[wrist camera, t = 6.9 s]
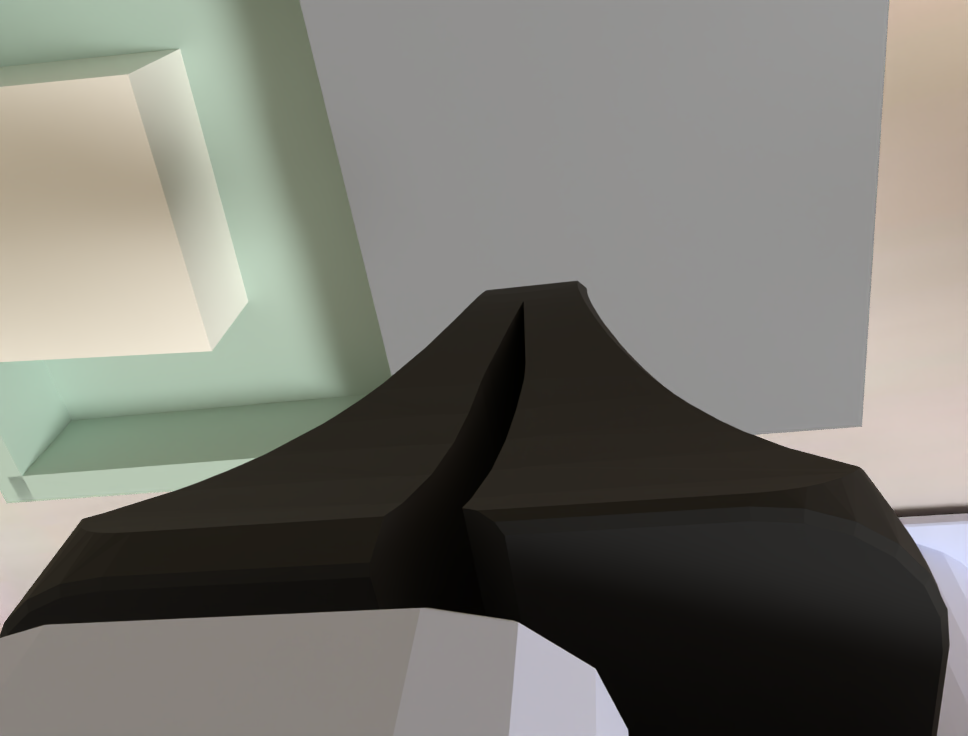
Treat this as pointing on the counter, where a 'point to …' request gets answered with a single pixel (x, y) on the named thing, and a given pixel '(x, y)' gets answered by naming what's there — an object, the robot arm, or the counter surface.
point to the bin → (260, 255)
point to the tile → (109, 213)
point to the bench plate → (625, 179)
